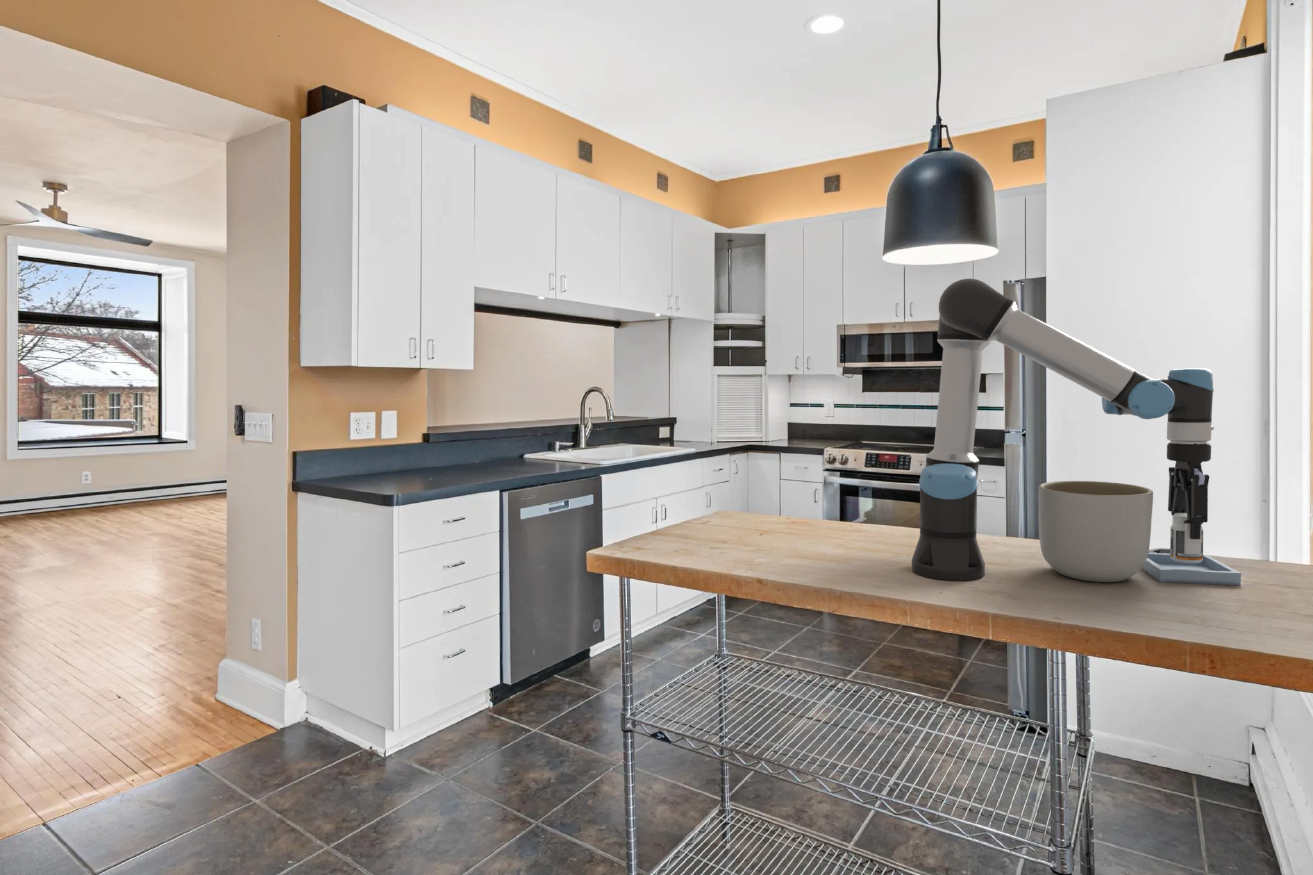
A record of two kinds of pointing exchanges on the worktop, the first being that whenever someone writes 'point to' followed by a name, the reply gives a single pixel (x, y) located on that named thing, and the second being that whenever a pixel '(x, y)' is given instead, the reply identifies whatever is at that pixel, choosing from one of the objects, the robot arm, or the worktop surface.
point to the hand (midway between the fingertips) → (1186, 549)
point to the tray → (1190, 570)
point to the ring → (1160, 550)
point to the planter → (1095, 528)
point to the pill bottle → (1182, 541)
